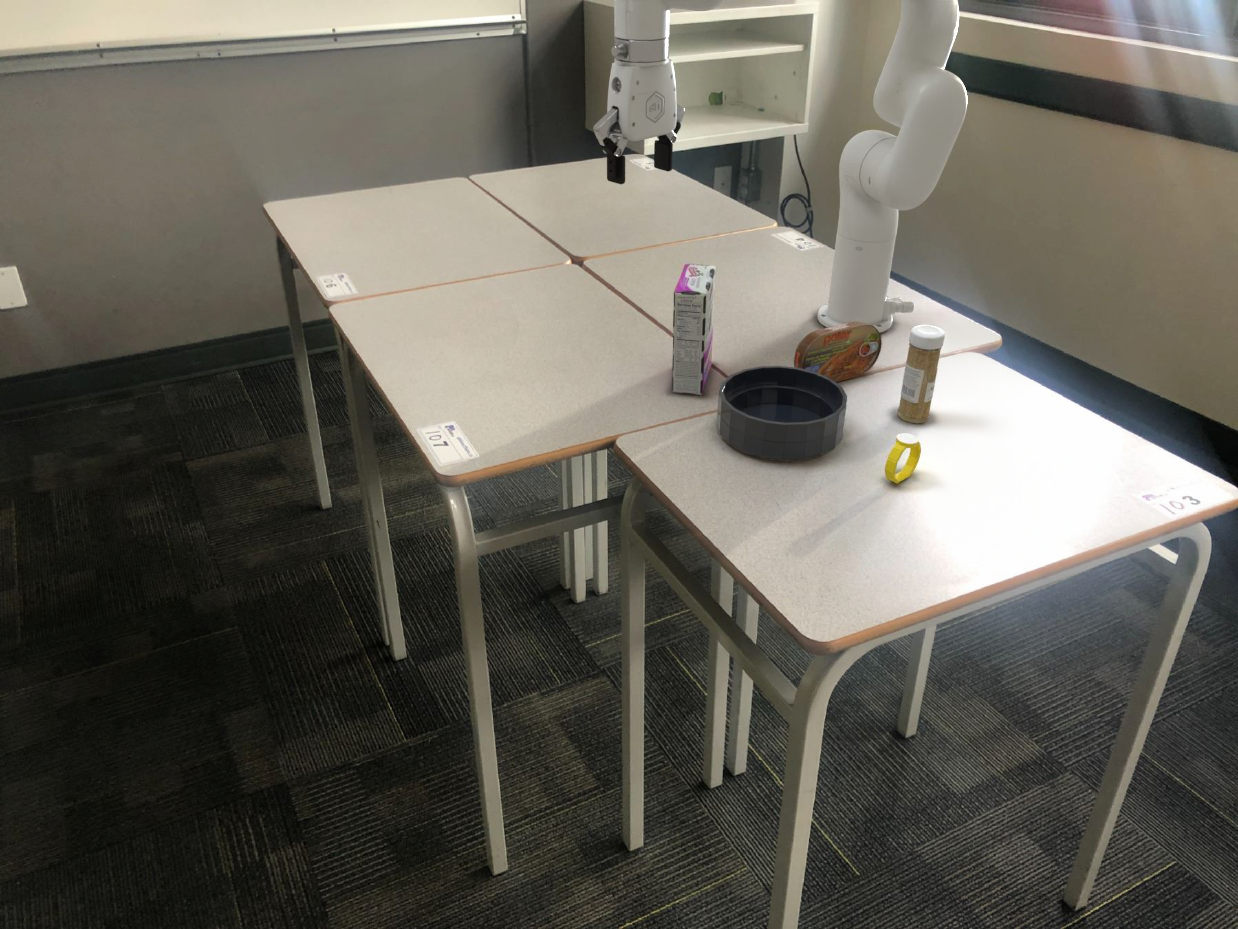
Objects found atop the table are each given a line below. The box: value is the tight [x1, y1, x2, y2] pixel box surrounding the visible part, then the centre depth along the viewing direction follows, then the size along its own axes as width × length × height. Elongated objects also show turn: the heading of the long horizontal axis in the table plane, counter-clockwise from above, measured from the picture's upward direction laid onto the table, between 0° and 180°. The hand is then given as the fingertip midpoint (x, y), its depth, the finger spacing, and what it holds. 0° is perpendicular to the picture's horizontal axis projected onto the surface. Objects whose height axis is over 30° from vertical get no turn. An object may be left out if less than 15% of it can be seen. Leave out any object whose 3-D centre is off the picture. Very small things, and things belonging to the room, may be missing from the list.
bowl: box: [716, 365, 848, 462], centre depth 136 cm, size 17×17×6 cm
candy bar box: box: [671, 263, 717, 396], centre depth 147 cm, size 11×5×16 cm, turn 168°
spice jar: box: [896, 324, 946, 424], centre depth 138 cm, size 5×5×13 cm
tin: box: [793, 321, 883, 383], centre depth 150 cm, size 15×3×8 cm, turn 117°
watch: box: [884, 432, 922, 484], centre depth 126 cm, size 6×3×6 cm, turn 133°
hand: (639, 175), depth 145 cm, fingers open, 9 cm apart
